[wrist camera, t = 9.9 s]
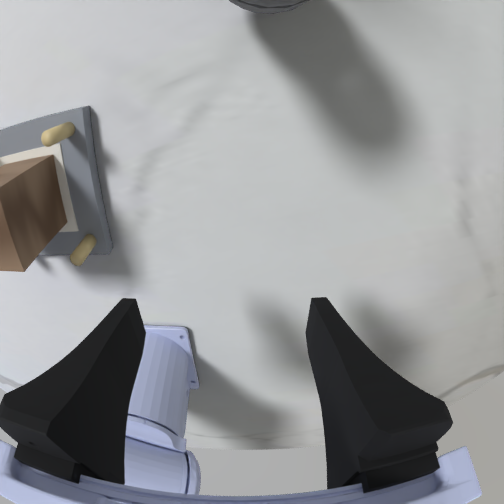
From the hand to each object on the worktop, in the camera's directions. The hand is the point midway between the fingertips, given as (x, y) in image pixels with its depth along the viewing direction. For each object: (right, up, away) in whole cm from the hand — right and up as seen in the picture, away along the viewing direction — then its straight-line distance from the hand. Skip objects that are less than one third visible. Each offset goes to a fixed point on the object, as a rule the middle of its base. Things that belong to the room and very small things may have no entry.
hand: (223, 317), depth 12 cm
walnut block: (-14, +7, +5) cm, 17 cm away
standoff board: (-14, +7, +6) cm, 17 cm away
